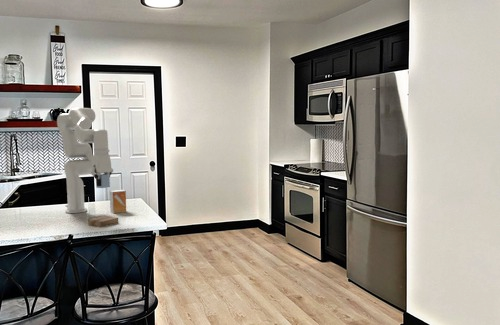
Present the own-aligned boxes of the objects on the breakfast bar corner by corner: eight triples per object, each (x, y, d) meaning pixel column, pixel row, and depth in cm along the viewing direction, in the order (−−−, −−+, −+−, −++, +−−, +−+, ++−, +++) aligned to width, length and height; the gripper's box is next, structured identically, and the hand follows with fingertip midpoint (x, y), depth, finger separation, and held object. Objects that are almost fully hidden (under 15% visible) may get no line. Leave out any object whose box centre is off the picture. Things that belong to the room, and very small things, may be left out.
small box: (113, 213, 276) (112, 191, 275) (110, 211, 281) (109, 190, 280) (126, 211, 281) (125, 190, 279) (123, 210, 286) (122, 189, 285)
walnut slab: (88, 224, 247) (88, 219, 246) (104, 220, 256) (104, 215, 255) (101, 227, 241) (101, 221, 240) (118, 223, 250) (118, 217, 250)
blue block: (96, 187, 252) (95, 174, 252) (103, 186, 257) (103, 174, 256) (102, 188, 250) (102, 175, 249) (109, 186, 254) (109, 174, 253)
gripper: (108, 151, 261) (110, 183, 262) (83, 153, 246) (85, 187, 248) (118, 151, 257) (119, 183, 258) (93, 153, 242) (95, 187, 244)
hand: (103, 185), depth 253 cm, fingers closed on blue block, 5 cm apart
